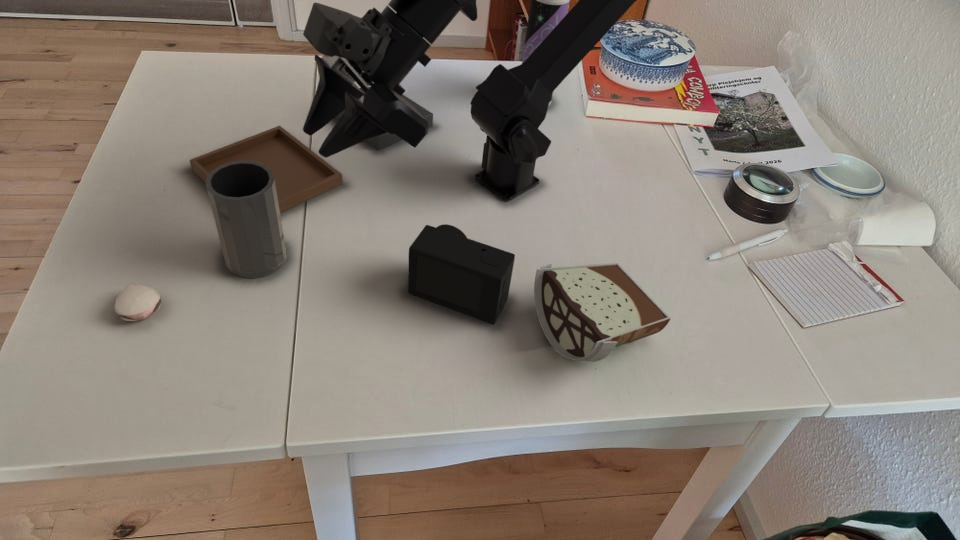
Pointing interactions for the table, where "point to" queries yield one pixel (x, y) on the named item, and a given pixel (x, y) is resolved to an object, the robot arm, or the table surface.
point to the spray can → (543, 23)
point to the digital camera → (459, 272)
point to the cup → (247, 218)
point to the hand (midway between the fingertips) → (313, 143)
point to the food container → (593, 309)
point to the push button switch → (389, 139)
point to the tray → (277, 165)
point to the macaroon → (137, 302)
